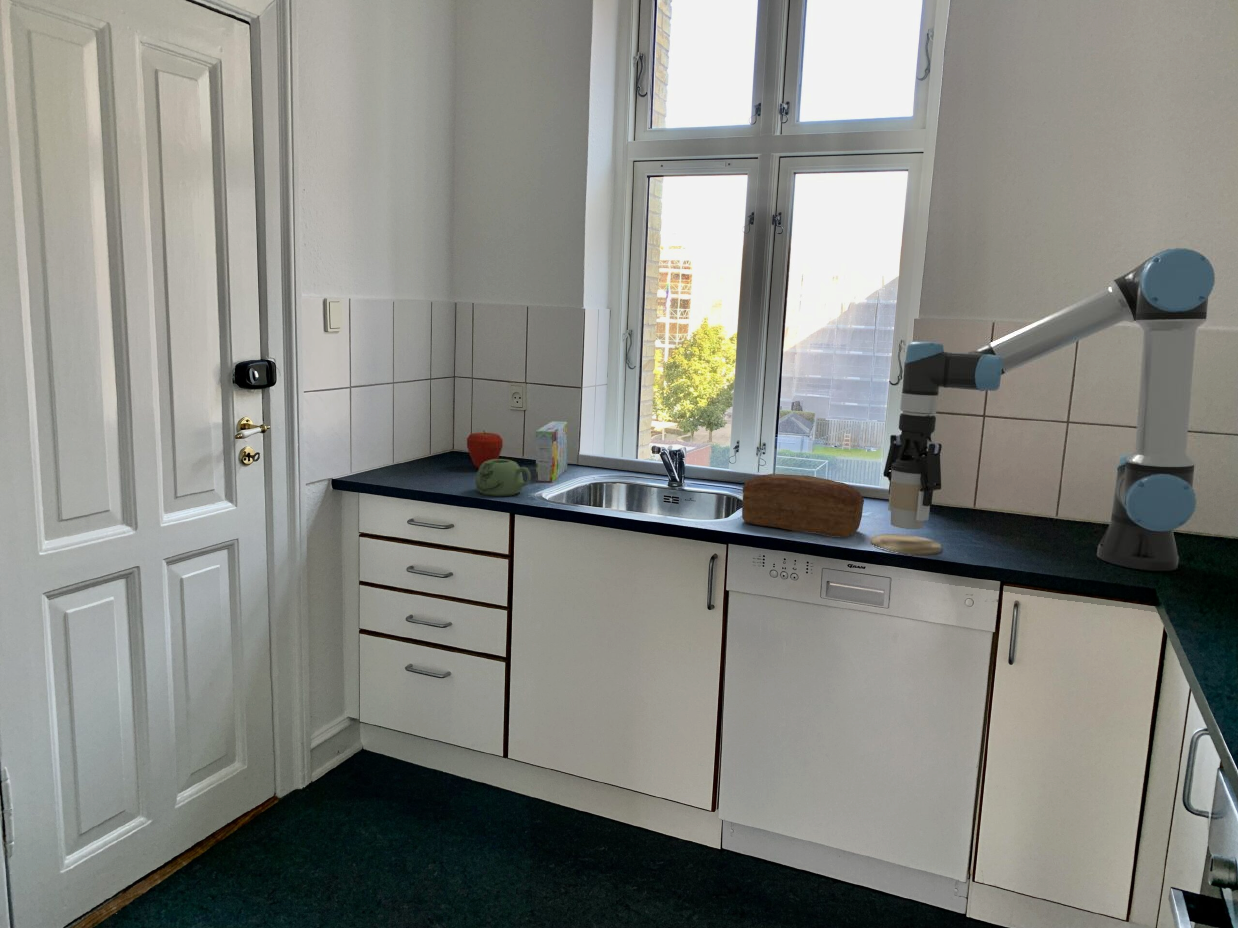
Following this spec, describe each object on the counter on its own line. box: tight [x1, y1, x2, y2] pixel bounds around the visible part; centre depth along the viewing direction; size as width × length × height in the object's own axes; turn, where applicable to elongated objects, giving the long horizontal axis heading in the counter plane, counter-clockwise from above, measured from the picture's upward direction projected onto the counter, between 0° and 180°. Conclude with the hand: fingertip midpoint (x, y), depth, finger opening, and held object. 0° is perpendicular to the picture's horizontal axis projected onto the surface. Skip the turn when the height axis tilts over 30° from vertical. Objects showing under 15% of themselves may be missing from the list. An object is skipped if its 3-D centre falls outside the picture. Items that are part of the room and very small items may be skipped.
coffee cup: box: [889, 456, 928, 530], centre depth 194 cm, size 9×9×15 cm
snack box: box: [535, 420, 568, 483], centre depth 262 cm, size 21×6×15 cm, turn 172°
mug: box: [475, 458, 532, 497], centre depth 236 cm, size 16×13×9 cm
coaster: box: [870, 533, 942, 556], centre depth 196 cm, size 15×15×1 cm
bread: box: [741, 473, 865, 538], centre depth 209 cm, size 14×28×12 cm, turn 61°
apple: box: [466, 430, 504, 470], centre depth 269 cm, size 11×11×12 cm
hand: (907, 514), depth 195 cm, fingers closed on coffee cup, 8 cm apart
